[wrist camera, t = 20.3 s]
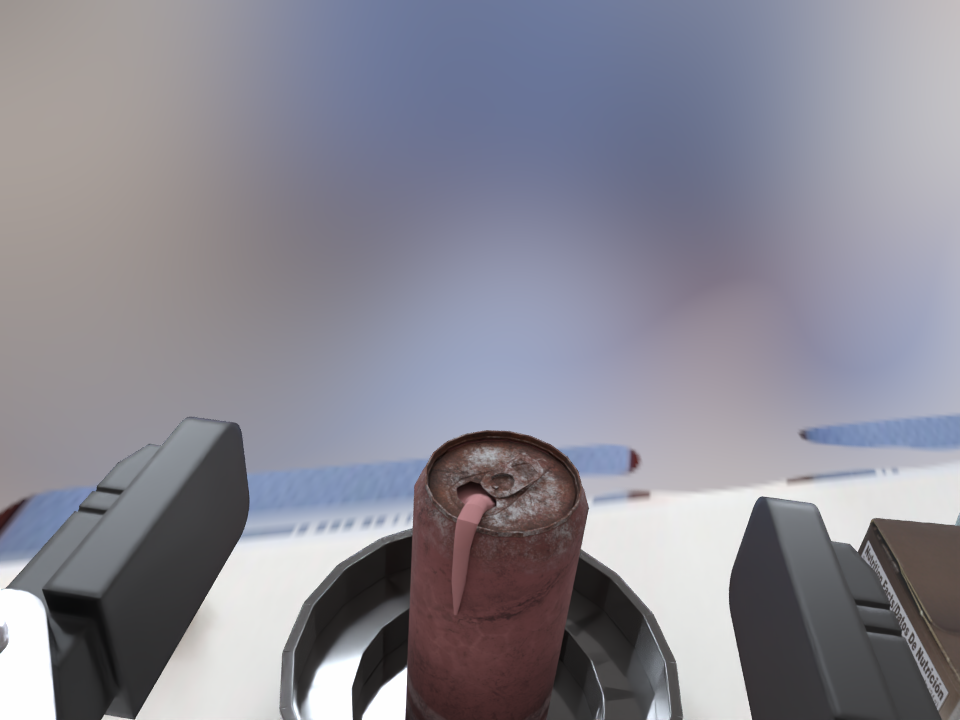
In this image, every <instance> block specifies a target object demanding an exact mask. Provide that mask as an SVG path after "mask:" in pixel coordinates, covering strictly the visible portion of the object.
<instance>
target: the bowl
mask: <svg viewBox="0 0 960 720" xmlns="http://www.w3.org/2000/svg"><path fill="white" fill-rule="evenodd" d="M412 536H413V528H412V529H408V530H405V531H402V532H399V533H396V534H392V535H389V536H386V537H383V538H381V539H378V540H377V541H375V542H374V543H372V544H370V545H369V546H367V547H366V548H364V549H362V550H361V551H359V552H358V553H356V554H354V555H353V556H351V557H349V558H348V559H346V560H345V561H343V562H341V563H340V564H339V565H337V566H336V567H335V568H334V570H333V571H332V572H331V573H330V574H329V575H328V576H327V577H326V579H325V580H324V581H323V582H322V583H321V584H320V585H319V586H318V587H317V589H316V590H315V591H314V592H313V593H312V594H311V595H310V596H309V598H308V599H307V600H306V601H305V602H304V604H303V606H302V608H301V610H300V613H299V615H298V617H297V620H296V622H295V624H294V627H293V629H292V631H291V633H290V636H289V638H288V640H287V643H286V645H285V647H284V650H283V653H282V668H281V688H280V707H279V709H280V719H281V720H405V710H406V685H407V660H408V635H409V610H410V586H411V561H412ZM682 718H683V714H682V706H681V697H680V689H679V681H678V672H677V664H676V661H675V659H674V656H673V654H672V652H671V650H670V648H669V646H668V644H667V642H666V640H665V638H664V635H663V633H662V631H661V629H660V627H659V625H658V623H657V621H656V619H655V617H654V614H652V612H651V611H650V610H649V609H648V607H647V606H646V605H645V604H644V603H643V602H642V601H641V600H640V598H639V597H638V596H637V595H636V594H635V593H634V592H633V591H632V589H631V588H630V587H629V586H628V585H627V584H626V583H625V582H624V580H623V579H622V578H621V577H620V576H619V575H618V574H617V573H615V572H614V571H612V570H611V569H609V568H608V567H606V566H605V565H604V564H602V563H601V562H599V561H598V560H596V559H595V558H593V557H592V556H590V555H589V554H587V553H586V552H584V551H583V550H580V555H579V560H578V565H577V570H576V575H575V580H574V585H573V590H572V595H571V600H570V605H569V610H568V615H567V620H566V625H565V630H564V635H563V640H562V645H561V650H560V655H559V660H558V665H557V670H556V675H555V680H554V685H553V690H552V695H551V700H550V705H549V710H548V715H547V720H683V719H682Z"/></svg>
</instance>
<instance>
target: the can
mask: <svg viewBox="0 0 960 720" xmlns="http://www.w3.org/2000/svg"><path fill="white" fill-rule="evenodd" d="M588 509H589V507H588V503H587V499H586V496H585V492H584V489H583V487H582V484H581V480H580V476H579V472H578V470H577V469H576V467H575V466H574V465H573V463H572V462H571V461H570V459H569V458H568V457H567V456H566V455H564V454H563V453H562V452H560V451H559V450H558V449H556V448H555V447H554V446H552V445H551V444H548V443H546V442H544V441H541V440H539V439H537V438H535V437H532V436H529V435H524V434H520V433H515V432H511V431H489V430H486V431H480V432H475V433H468V434H464V435H461V436H459V437H457V438H454V439H452V440H449V441H447V442H446V443H444V444H443V445H442V446H441V447H439V448H438V449H437V450H436V451H435V452H433V454H432V456H431V457H430V459H429V461H428V463H427V465H426V467H425V468H424V469H423V471H422V473H421V475H420V476H419V478H418V480H417V482H416V484H415V487H414V511H413V536H412V561H411V586H410V610H409V635H408V660H407V685H406V710H405V720H547V715H548V710H549V705H550V700H551V695H552V690H553V685H554V680H555V675H556V670H557V665H558V660H559V655H560V650H561V645H562V640H563V635H564V630H565V625H566V620H567V615H568V610H569V605H570V600H571V595H572V590H573V585H574V580H575V575H576V570H577V565H578V560H579V555H580V550H581V545H582V539H583V534H584V529H585V524H586V519H587V514H588Z"/></svg>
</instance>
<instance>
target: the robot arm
mask: <svg viewBox="0 0 960 720" xmlns="http://www.w3.org/2000/svg"><path fill="white" fill-rule="evenodd" d="M248 511H249V489H248V481H247V473H246V465H245V456H244V448H243V440H242V433H241V429H240V427H239V425H238V424H237V423H233V422H226V421H219V420H211V419H204V418H197V417H187V418H185V419H184V420H183V421H182V422H181V423H180V424H179V425H178V426H177V428H176V429H175V430H174V431H173V432H172V434H171V435H170V436H169V437H168V438H167V440H166V441H165V442H164V443H163V444H162V445H154V444H148V445H146V446H145V447H143V448H141V449H140V450H138V451H136V452H135V453H133V454H132V455H130V456H128V457H127V458H125V459H123V460H122V461H120V462H118V463H117V465H116V466H115V467H114V468H113V469H112V470H111V471H110V472H109V473H108V475H107V476H106V477H105V478H104V479H103V480H102V481H101V482H100V483H99V485H98V486H97V490H96V492H95V491H92V492H91V494H90V495H89V496H88V497H87V498H86V499H85V500H84V501H83V503H82V504H81V505H80V506H79V510H78V512H76V511H74V513H73V514H72V515H71V516H70V517H69V518H68V519H67V520H66V522H65V523H64V524H63V525H62V526H61V527H60V528H59V529H58V531H57V532H56V533H55V534H54V535H53V536H52V537H51V538H50V540H49V541H48V542H47V543H46V544H45V545H44V546H43V547H42V548H41V550H40V551H39V552H38V553H37V554H36V555H35V556H34V557H33V559H32V560H31V561H30V562H29V563H28V564H27V565H26V566H25V568H24V569H23V570H22V571H21V572H20V573H19V574H18V575H17V577H16V578H15V579H14V580H13V581H12V582H11V583H10V584H9V585H8V586H7V587H6V588H5V589H0V720H101V719H102V717H103V716H104V714H105V715H111V716H117V717H122V718H128V719H134V720H135V718H136V716H137V714H138V713H139V711H140V709H141V708H142V706H143V704H144V702H145V701H146V699H147V697H148V696H149V694H150V692H151V690H152V689H153V687H154V685H155V683H156V682H157V680H158V678H159V677H160V675H161V673H162V671H163V670H164V668H165V666H166V664H167V663H168V661H169V659H170V658H171V656H172V654H173V652H174V651H175V649H176V647H177V645H178V644H179V642H180V640H181V639H182V637H183V635H184V633H185V632H186V630H187V628H188V627H189V625H190V623H191V621H192V620H193V618H194V616H195V614H196V613H197V611H198V609H199V608H200V606H201V604H202V602H203V601H204V599H205V597H206V595H207V594H208V592H209V590H210V589H211V587H212V585H213V583H214V582H215V580H216V578H217V577H218V575H219V573H220V571H221V570H222V568H223V566H224V564H225V563H226V561H227V559H228V558H229V556H230V554H231V552H232V551H233V549H234V547H235V545H236V544H237V542H238V540H239V539H240V537H241V535H242V533H243V530H244V527H245V525H246V521H247V517H248ZM729 605H730V613H731V618H732V623H733V627H734V632H735V637H736V642H737V647H738V652H739V657H740V662H741V666H742V671H743V676H744V681H745V686H746V691H747V696H748V701H749V705H750V710H751V715H752V720H942V719H941V716H940V714H939V712H938V710H937V707H936V705H935V703H934V701H933V699H932V696H931V694H930V692H929V690H928V687H927V685H926V683H925V681H924V678H923V676H922V674H921V672H920V669H919V667H918V665H917V663H916V660H915V658H914V656H913V654H912V651H911V649H910V647H909V645H908V642H907V640H906V638H905V637H902V629H901V627H900V624H899V622H898V620H897V618H896V616H895V613H894V611H891V610H890V605H891V604H890V602H889V600H888V598H887V595H886V593H885V591H884V589H883V586H882V584H881V582H880V580H879V577H878V575H877V573H876V572H875V571H874V570H873V569H872V568H871V566H870V565H869V564H868V563H867V562H866V561H865V560H864V559H863V558H862V557H861V556H860V555H859V553H858V552H857V551H856V550H855V549H854V548H853V547H852V546H851V545H850V544H846V543H839V542H832V541H831V540H830V537H829V535H828V532H827V530H826V527H825V525H824V522H823V519H822V517H821V514H820V512H819V510H818V508H817V507H816V505H814V504H812V503H806V502H799V501H791V500H784V499H777V498H769V497H760V498H758V500H757V501H756V503H755V505H754V507H753V510H752V513H751V516H750V519H749V522H748V525H747V528H746V531H745V533H744V536H743V539H742V542H741V545H740V548H739V551H738V554H737V557H736V560H735V563H734V565H733V569H732V573H731V578H730V586H729Z"/></svg>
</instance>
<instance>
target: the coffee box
mask: <svg viewBox="0 0 960 720" xmlns="http://www.w3.org/2000/svg"><path fill="white" fill-rule="evenodd" d="M858 553H859V555H860V556H861V557H862V558H863V559H864V560H865V561H866V562H867V563H868V564H869V565H870V566H871V568H872V569H873V570H874V571H875V572H876V573H877V575H878V577H879V580H880V582H881V584H882V586H883V589H884V591H885V593H886V595H887V598H888V600H889V602H890V604H891V605H890V610H891V611H894V613H895V616H896V618H897V620H898V622H899V624H900V627H901V629H902V637H905V638H906V640H907V642H908V645H909V647H910V649H911V651H912V654H913V656H914V658H915V660H916V663H917V665H918V667H919V669H920V672H921V674H922V676H923V678H924V681H925V683H926V685H927V687H928V690H929V692H930V694H931V696H932V699H933V701H934V703H935V705H936V707H937V710H938V712H939V714H940V716H941V719H942V720H960V526H958V525H944V524H935V523H922V522H913V521H901V520H891V519H881V518H875V519H872V520H871V522H870V526H869V528H868V531H867V533H866V535H865V537H864V539H863V542H862V544H861V546H860V548H859V550H858Z"/></svg>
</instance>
